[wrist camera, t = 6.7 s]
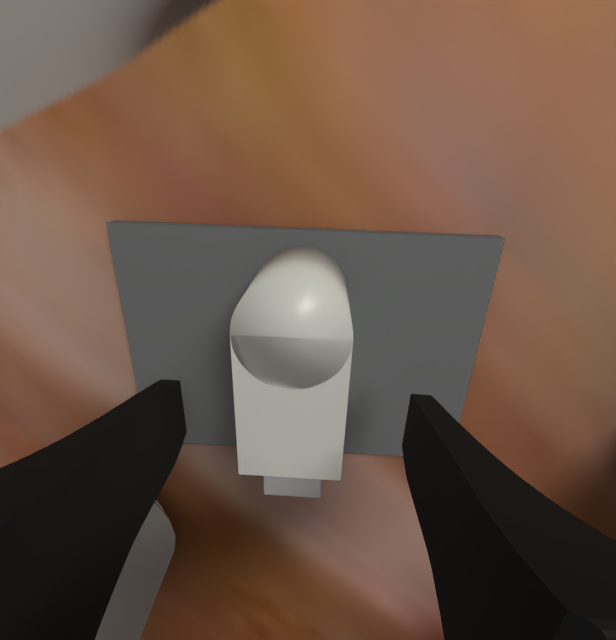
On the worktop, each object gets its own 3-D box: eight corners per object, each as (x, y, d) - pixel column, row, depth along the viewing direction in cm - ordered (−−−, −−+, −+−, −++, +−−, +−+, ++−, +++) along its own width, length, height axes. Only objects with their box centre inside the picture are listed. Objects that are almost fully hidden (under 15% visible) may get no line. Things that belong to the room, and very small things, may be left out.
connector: (254, 242, 13) (225, 275, 9) (350, 246, 13) (358, 281, 9) (260, 444, 17) (242, 523, 13) (334, 448, 17) (336, 530, 13)
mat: (498, 235, 13) (504, 238, 13) (446, 450, 17) (450, 459, 17) (113, 220, 13) (105, 222, 13) (152, 433, 18) (147, 441, 17)
